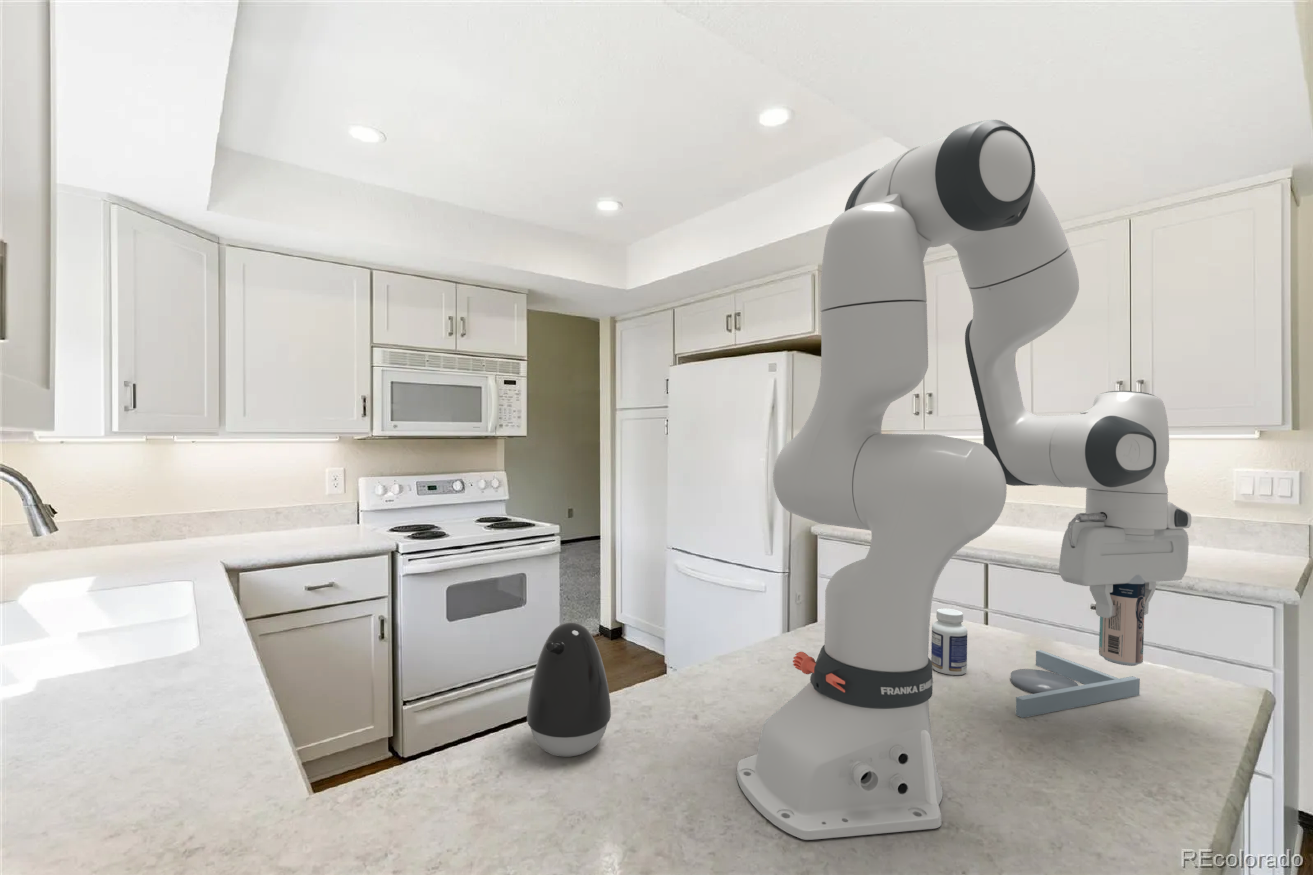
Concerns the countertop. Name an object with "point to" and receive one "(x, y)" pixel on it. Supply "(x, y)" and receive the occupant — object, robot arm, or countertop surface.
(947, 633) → the pill bottle
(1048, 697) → the divider wall
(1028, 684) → the coaster
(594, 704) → the black egg-shaped tumbler
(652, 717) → the countertop surface
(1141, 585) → the beer can
